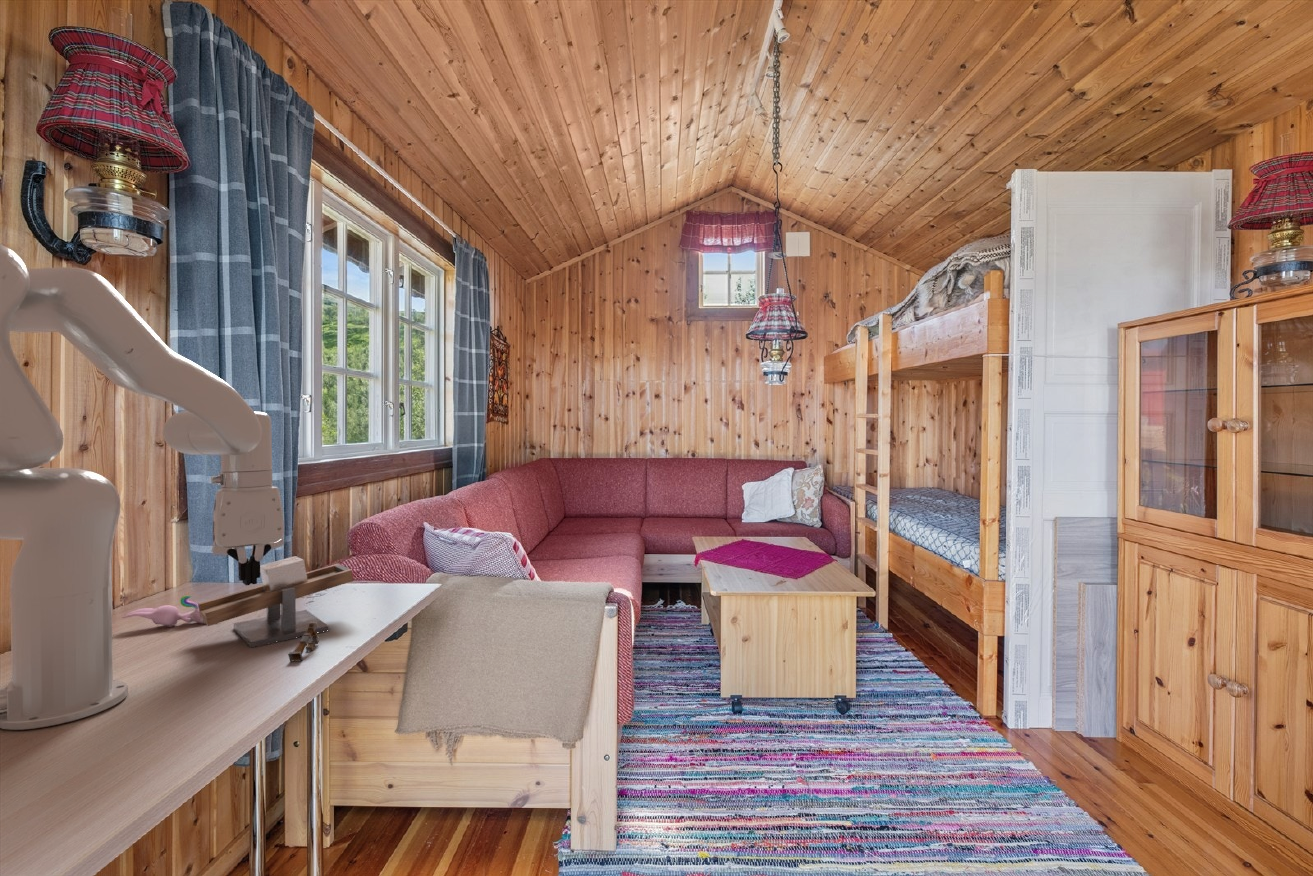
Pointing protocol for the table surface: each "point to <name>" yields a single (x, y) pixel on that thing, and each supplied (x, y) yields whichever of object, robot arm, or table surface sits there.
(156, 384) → the robot arm
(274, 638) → the pivot stand
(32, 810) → the table surface
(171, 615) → the pink animal figure
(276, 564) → the white block
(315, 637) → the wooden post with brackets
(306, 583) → the balance beam
